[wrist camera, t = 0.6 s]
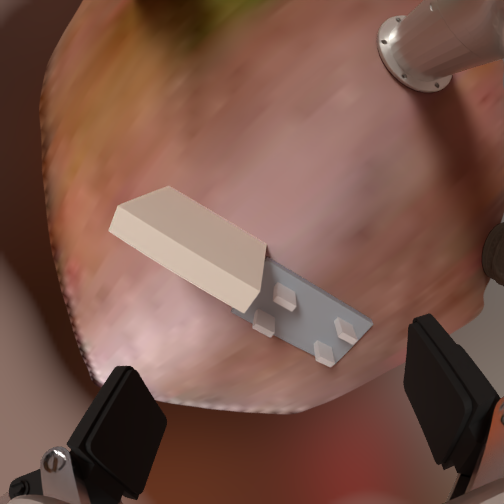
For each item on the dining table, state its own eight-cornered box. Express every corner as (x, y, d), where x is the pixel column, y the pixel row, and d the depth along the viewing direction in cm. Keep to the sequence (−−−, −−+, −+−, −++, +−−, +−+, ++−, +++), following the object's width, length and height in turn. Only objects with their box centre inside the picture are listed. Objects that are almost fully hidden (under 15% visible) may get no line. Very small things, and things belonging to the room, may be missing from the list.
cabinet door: (168, 185, 38) (118, 205, 25) (266, 243, 40) (260, 291, 27) (156, 210, 40) (105, 240, 27) (251, 267, 41) (238, 321, 28)
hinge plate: (267, 256, 40) (265, 272, 35) (370, 319, 42) (380, 339, 37) (232, 306, 44) (226, 327, 39) (332, 359, 46) (337, 381, 41)
